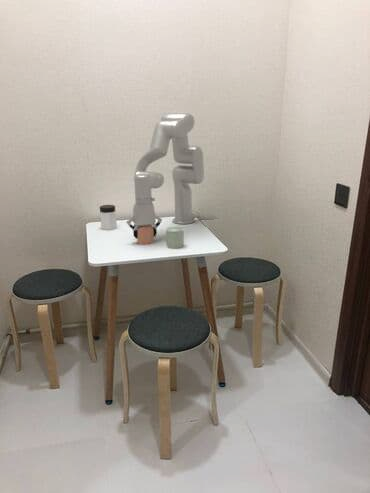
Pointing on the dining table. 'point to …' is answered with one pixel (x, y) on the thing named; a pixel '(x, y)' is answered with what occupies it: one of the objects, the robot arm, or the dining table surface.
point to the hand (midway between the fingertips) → (145, 236)
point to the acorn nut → (174, 237)
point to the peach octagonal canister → (145, 234)
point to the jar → (108, 217)
